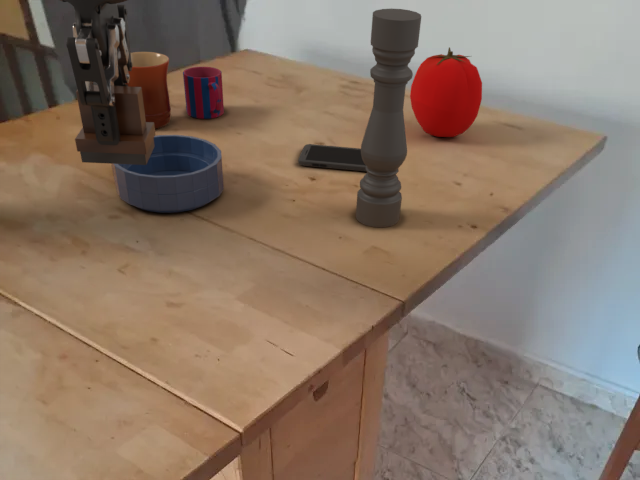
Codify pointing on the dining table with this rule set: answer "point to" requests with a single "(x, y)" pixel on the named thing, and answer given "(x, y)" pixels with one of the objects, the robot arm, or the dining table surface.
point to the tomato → (446, 94)
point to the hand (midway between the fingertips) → (115, 131)
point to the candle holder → (387, 116)
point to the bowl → (172, 175)
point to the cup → (203, 92)
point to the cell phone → (332, 157)
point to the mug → (152, 85)
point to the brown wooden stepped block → (131, 128)
